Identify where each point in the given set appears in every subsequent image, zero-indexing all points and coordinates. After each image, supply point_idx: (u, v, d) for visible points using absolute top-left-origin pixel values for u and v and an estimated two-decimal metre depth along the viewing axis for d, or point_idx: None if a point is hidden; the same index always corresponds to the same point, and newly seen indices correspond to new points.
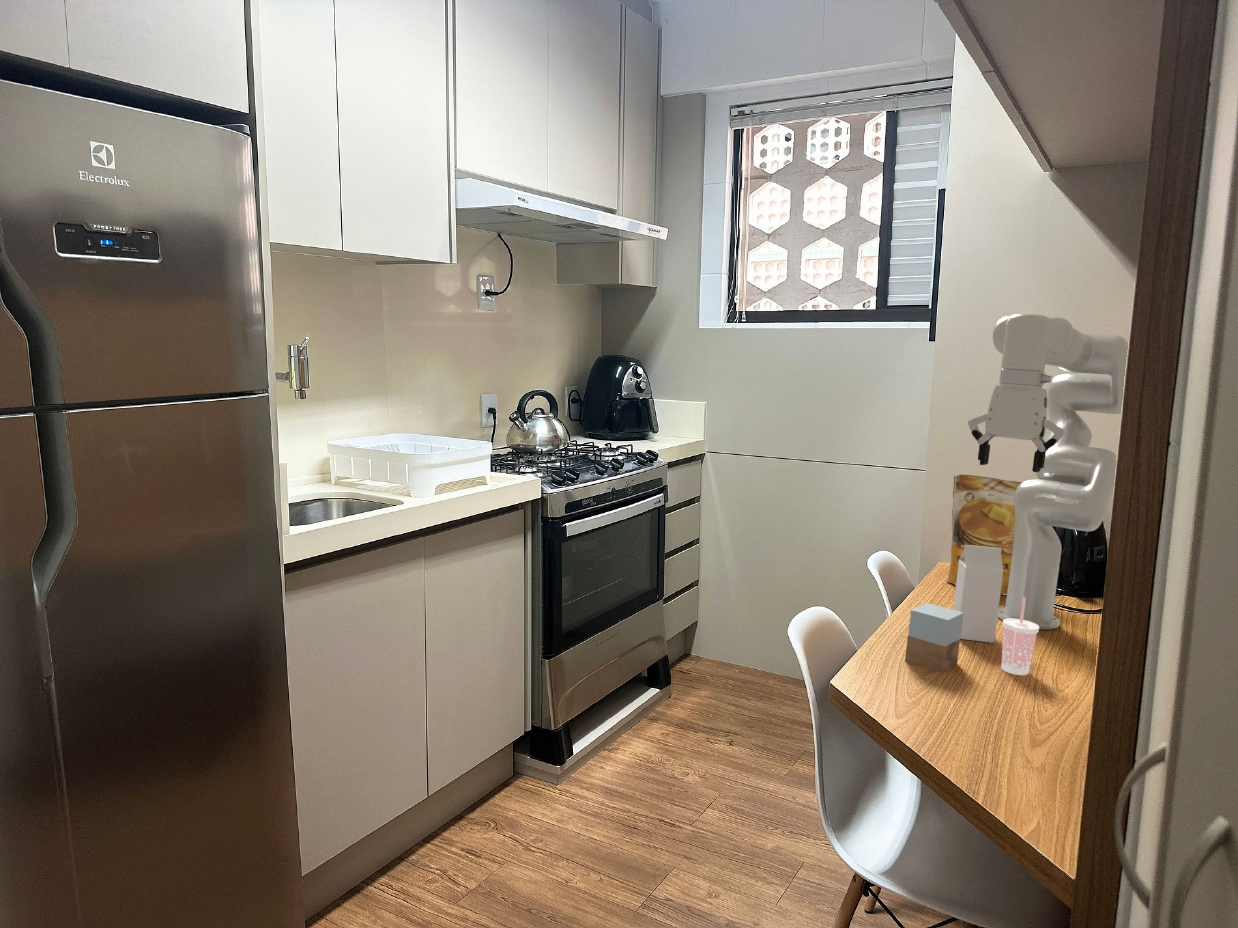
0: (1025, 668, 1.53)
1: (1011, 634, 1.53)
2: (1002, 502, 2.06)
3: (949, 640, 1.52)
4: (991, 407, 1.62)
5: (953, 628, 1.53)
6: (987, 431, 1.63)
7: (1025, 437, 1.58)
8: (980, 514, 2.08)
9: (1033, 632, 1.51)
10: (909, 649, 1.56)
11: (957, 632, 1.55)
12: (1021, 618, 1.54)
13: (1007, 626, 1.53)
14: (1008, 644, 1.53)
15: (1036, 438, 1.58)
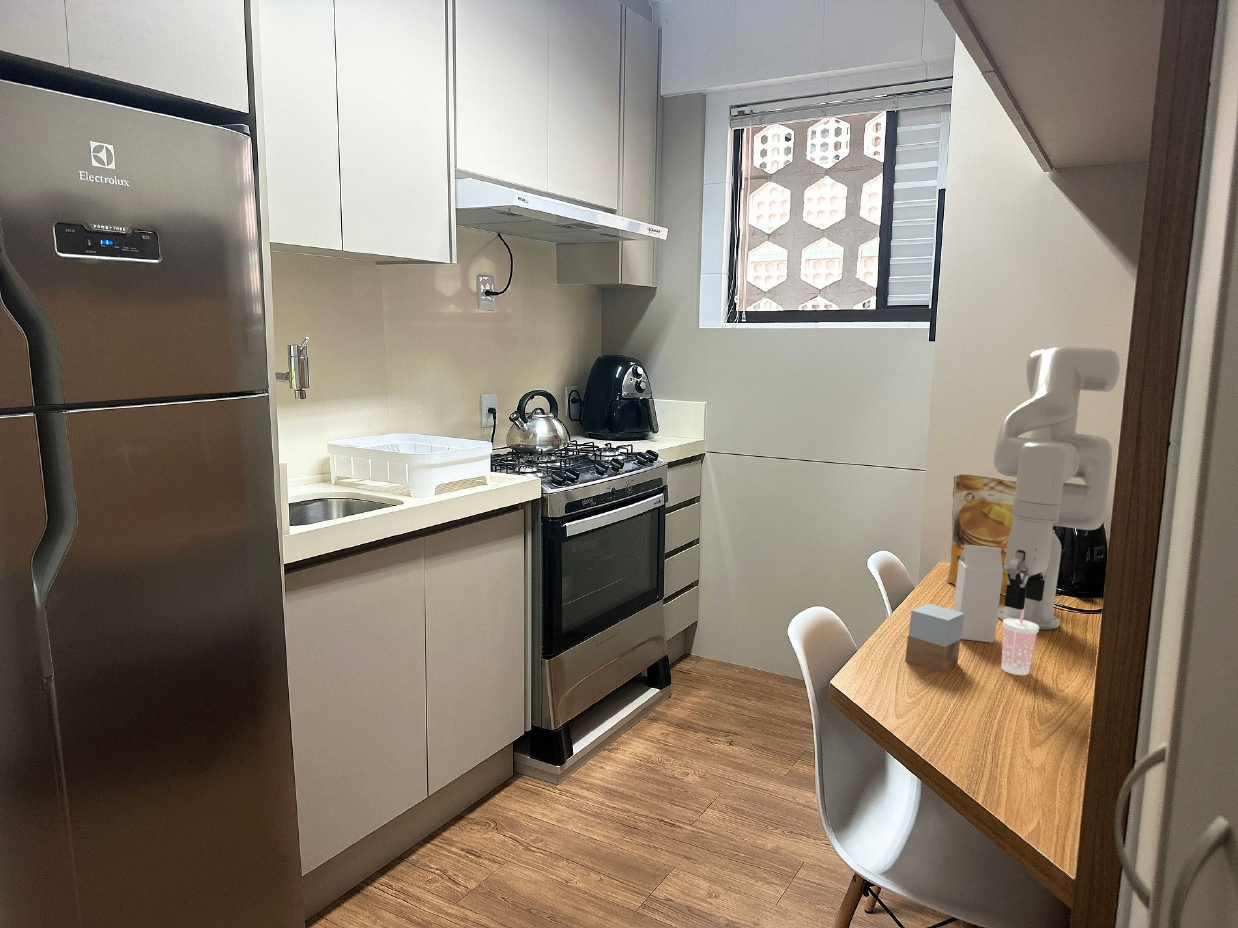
0: (1025, 668, 1.53)
1: (1011, 634, 1.53)
2: (1002, 502, 2.06)
3: (949, 641, 1.52)
4: (1036, 547, 1.47)
5: (953, 629, 1.53)
6: (1031, 573, 1.48)
7: (1044, 569, 1.53)
8: (980, 514, 2.08)
9: (1033, 632, 1.51)
10: (909, 649, 1.56)
11: (958, 632, 1.55)
12: (1021, 618, 1.54)
13: (1007, 626, 1.53)
14: (1008, 644, 1.53)
15: None
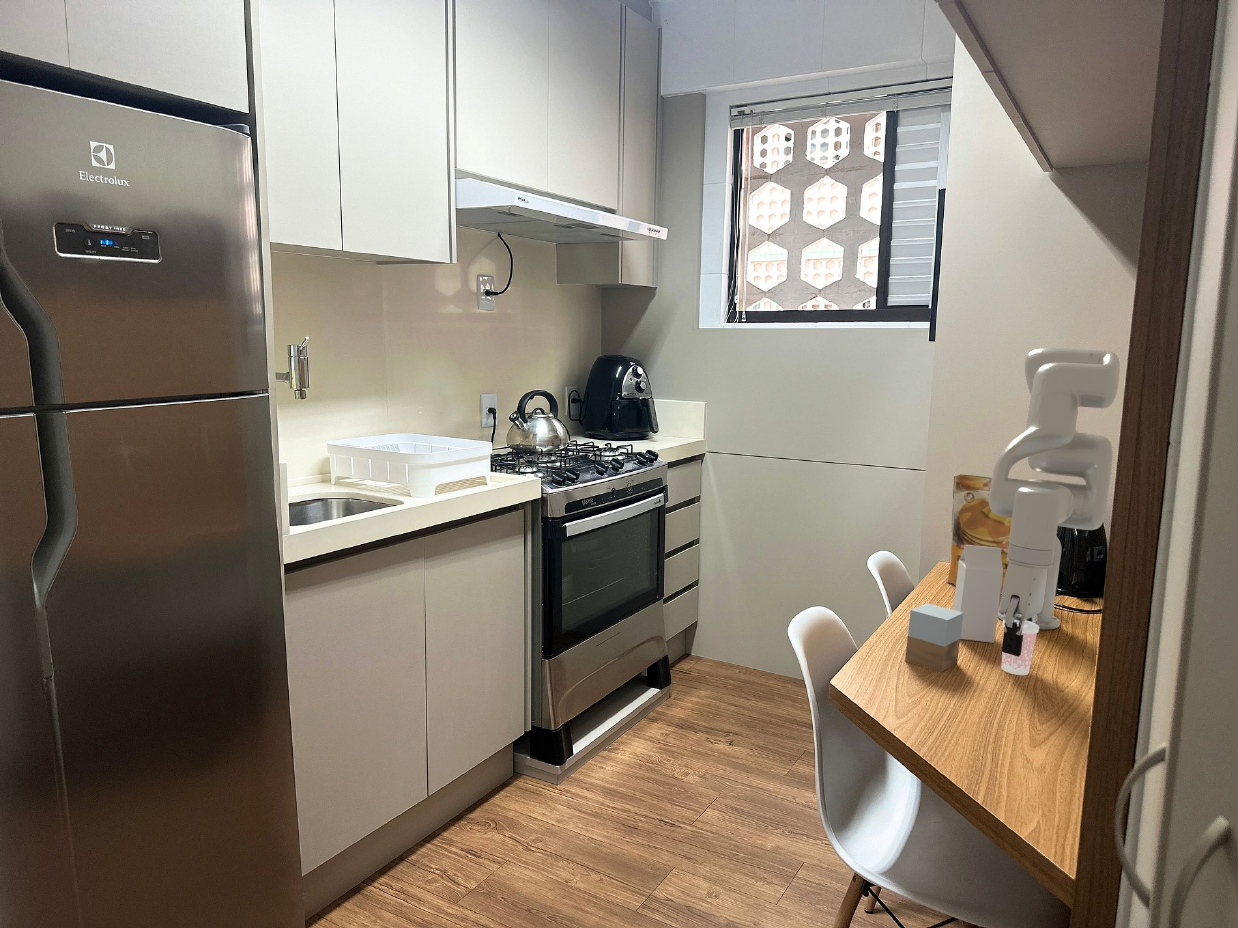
0: (1025, 668, 1.53)
1: None
2: None
3: (948, 640, 1.52)
4: (1030, 592, 1.48)
5: (953, 628, 1.53)
6: (1025, 617, 1.49)
7: (1039, 611, 1.54)
8: (980, 514, 2.08)
9: (1033, 632, 1.51)
10: (909, 649, 1.56)
11: (957, 632, 1.55)
12: None
13: None
14: None
15: None
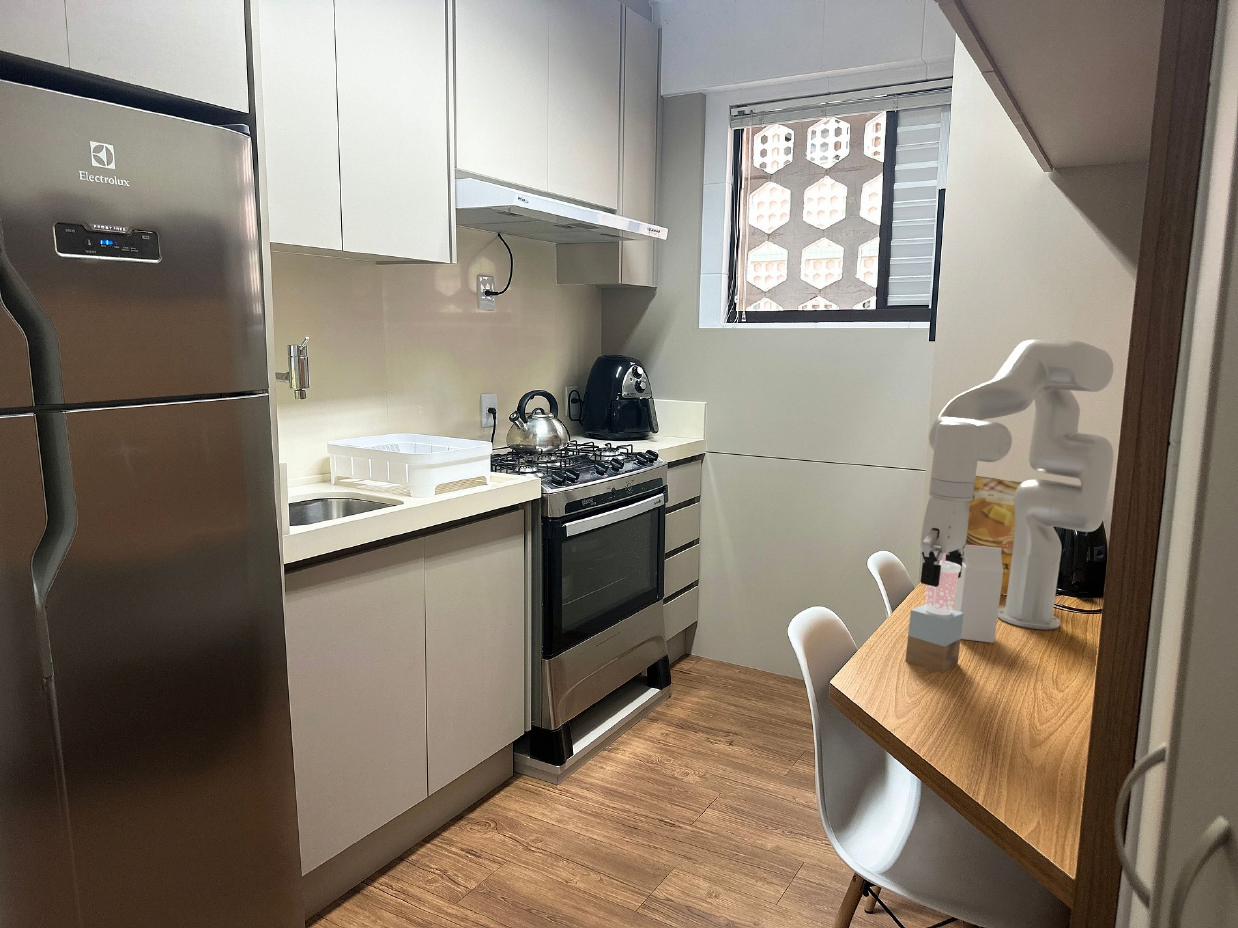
0: (947, 608, 1.53)
1: None
2: (1002, 502, 2.06)
3: (948, 640, 1.52)
4: (949, 524, 1.49)
5: (953, 628, 1.53)
6: (945, 550, 1.49)
7: (961, 547, 1.54)
8: (980, 514, 2.08)
9: (954, 571, 1.52)
10: (909, 649, 1.56)
11: (957, 632, 1.55)
12: (943, 558, 1.54)
13: None
14: None
15: None
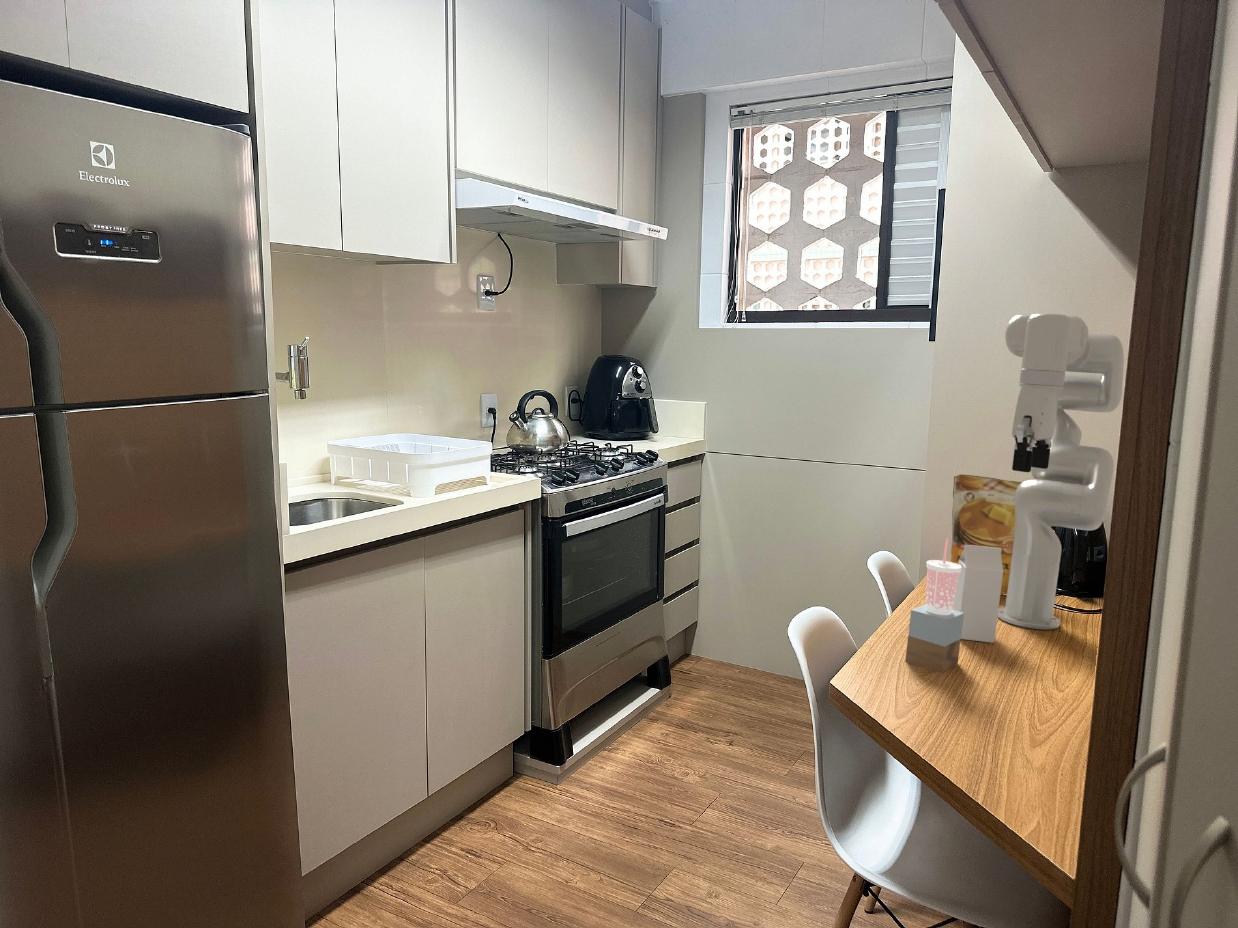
0: (947, 608, 1.53)
1: (933, 573, 1.53)
2: (1002, 502, 2.06)
3: (949, 640, 1.52)
4: (1042, 411, 1.55)
5: (953, 628, 1.53)
6: (1037, 436, 1.55)
7: (1050, 437, 1.60)
8: (980, 514, 2.08)
9: (954, 571, 1.52)
10: (909, 649, 1.56)
11: (958, 632, 1.55)
12: (944, 558, 1.54)
13: (929, 566, 1.54)
14: (931, 584, 1.54)
15: None
